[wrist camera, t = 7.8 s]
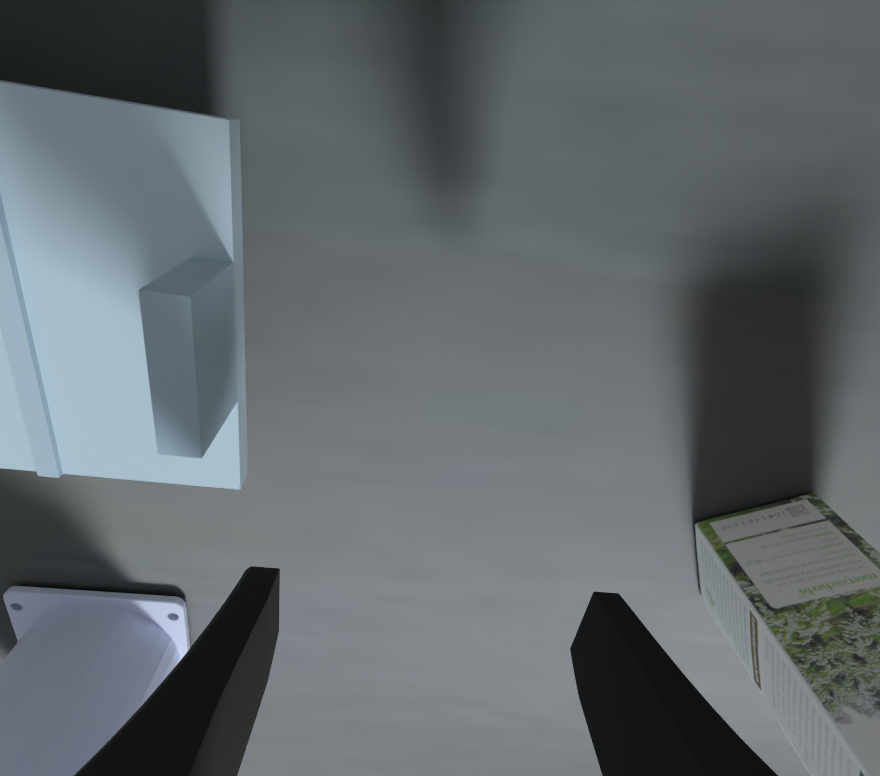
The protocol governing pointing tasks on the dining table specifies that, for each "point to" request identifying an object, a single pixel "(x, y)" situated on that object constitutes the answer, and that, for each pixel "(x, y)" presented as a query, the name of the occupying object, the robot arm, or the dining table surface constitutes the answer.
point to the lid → (120, 290)
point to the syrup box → (802, 624)
